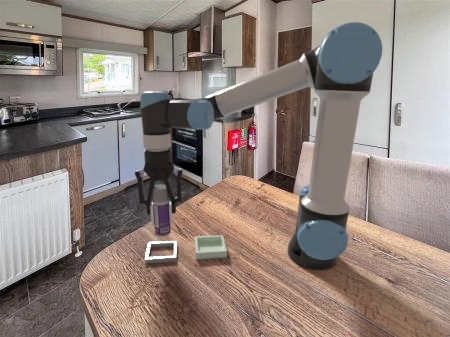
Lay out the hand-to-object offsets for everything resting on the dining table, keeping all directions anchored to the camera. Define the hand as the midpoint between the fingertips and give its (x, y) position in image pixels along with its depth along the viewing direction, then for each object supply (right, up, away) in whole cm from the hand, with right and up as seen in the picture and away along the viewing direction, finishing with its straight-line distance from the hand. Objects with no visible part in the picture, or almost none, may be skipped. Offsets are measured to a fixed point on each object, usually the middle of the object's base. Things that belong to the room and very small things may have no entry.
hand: (162, 223), depth 86 cm
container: (0, -3, +1) cm, 3 cm away
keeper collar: (-1, -10, +3) cm, 11 cm away
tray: (+14, -10, +6) cm, 18 cm away
